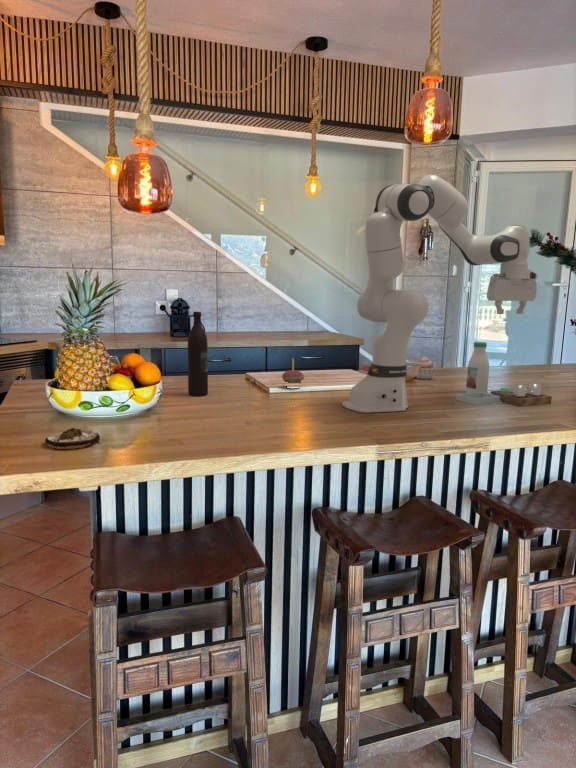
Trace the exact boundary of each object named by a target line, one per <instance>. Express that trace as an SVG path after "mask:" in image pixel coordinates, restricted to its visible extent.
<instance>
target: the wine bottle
mask: <svg viewBox="0 0 576 768" xmlns="http://www.w3.org/2000/svg"><path fill="white" fill-rule="evenodd" d="M192 317H193V322H192V323H193V324H192V327H191V330H190V331H189V333H188V336H187V380H188V381H187V392H188V396H191V397H205V396H207V395H208V394H209V384H208V383H209V378H208V377H209V373H208V372H209V369H208V367H209V366H208V364H209V363H208V361H209V360H208V359H209V358H208V350H209V349H208V338H207V334H206V331H205V330H204V328H203V325H202V312H201V311H193V313H192Z"/></svg>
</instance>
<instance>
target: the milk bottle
mask: <svg viewBox="0 0 576 768" xmlns="http://www.w3.org/2000/svg"><path fill="white" fill-rule="evenodd" d="M487 346H488V344H487V342H486V341H474V342H473V352H472V354H471V356H470V358H469V361H468V364H467V371H466V372H467V374H466V385H465V386H466V387H465V393H475V392H484V393H488V387H489V377H490V375H489V374H490V362H489V359H488V356H487V351H486V349H487Z"/></svg>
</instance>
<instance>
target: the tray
mask: <svg viewBox="0 0 576 768" xmlns="http://www.w3.org/2000/svg"><path fill="white" fill-rule="evenodd" d="M455 401H460V402H462V403H466V404H469V405H470V404H471V405H474V406H475V405H486V404H495V403H500V402H501V400H500V396H496V395H492V394H491V393H488V392H487V393H484V392H475V393H466V392H465V393H456V394H455Z"/></svg>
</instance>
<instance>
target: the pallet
mask: <svg viewBox="0 0 576 768" xmlns="http://www.w3.org/2000/svg"><path fill="white" fill-rule="evenodd" d="M552 397H553V396H551V395H547V394H543V393H541V396H540V397H532V396H528V392H526V397H525V398H521V399H520V398H516V397H513V394H510V395H503V396H502V401H501V403H503V404H507V405H512V406H515V407H519V408H521V407H530V406H531V407H532V406H541V405H542V406H543V405H552Z"/></svg>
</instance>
